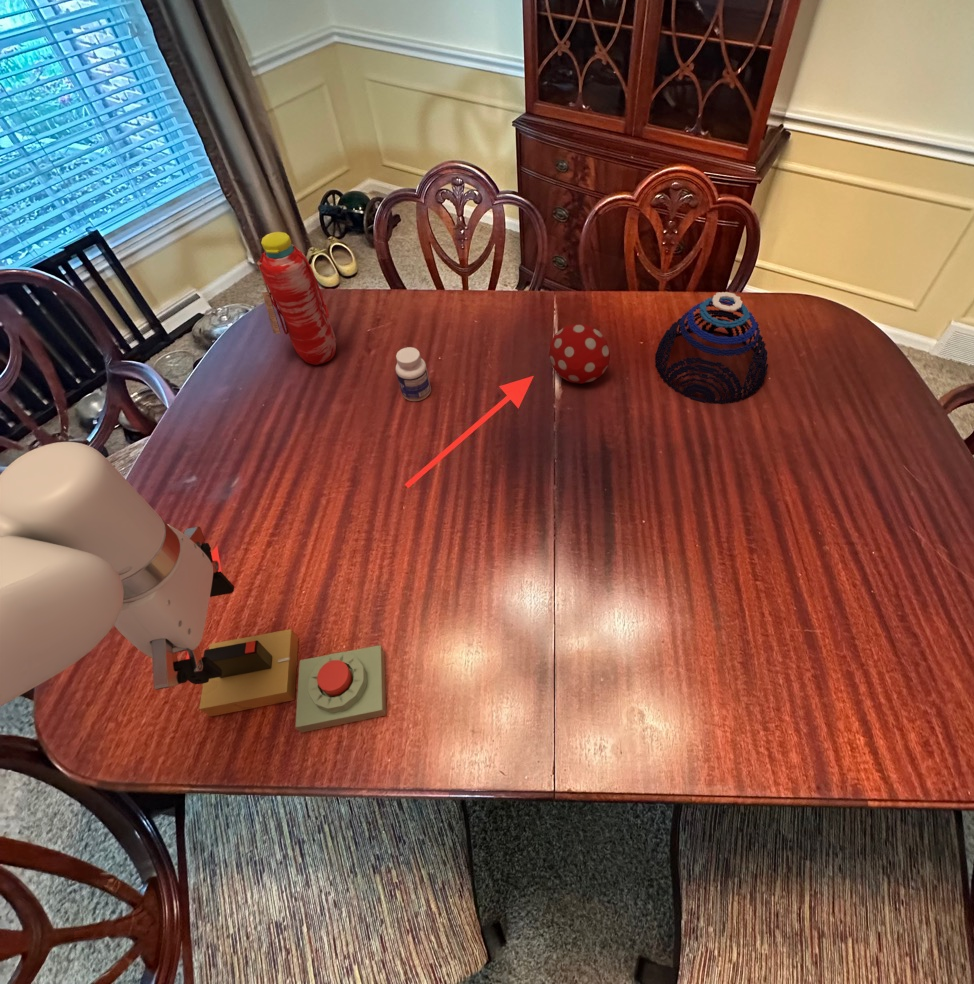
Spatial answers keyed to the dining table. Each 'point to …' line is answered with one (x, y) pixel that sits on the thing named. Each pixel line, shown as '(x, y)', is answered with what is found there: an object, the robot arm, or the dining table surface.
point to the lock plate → (255, 678)
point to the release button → (334, 677)
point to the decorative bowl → (714, 350)
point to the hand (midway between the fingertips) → (214, 632)
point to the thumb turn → (240, 658)
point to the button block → (351, 705)
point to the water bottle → (296, 299)
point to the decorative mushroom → (579, 353)
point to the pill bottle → (412, 374)
